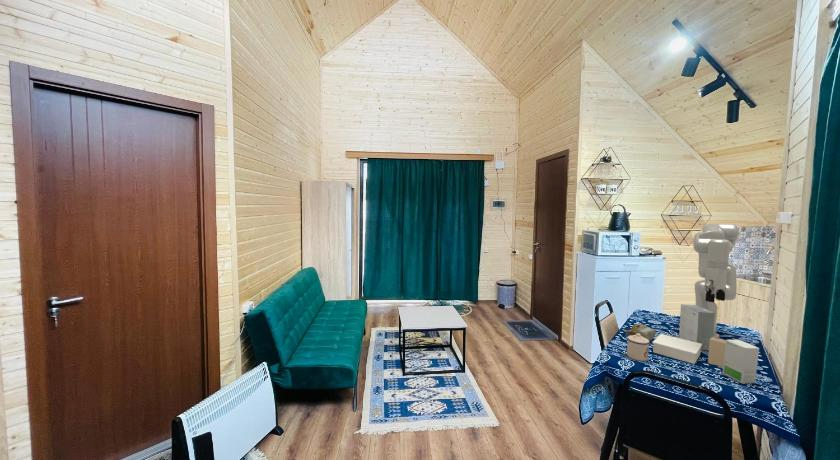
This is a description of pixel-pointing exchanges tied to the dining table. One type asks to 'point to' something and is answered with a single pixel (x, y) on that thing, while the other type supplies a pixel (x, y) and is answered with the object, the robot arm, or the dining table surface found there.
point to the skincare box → (740, 361)
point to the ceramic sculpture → (641, 331)
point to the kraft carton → (716, 351)
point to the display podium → (677, 348)
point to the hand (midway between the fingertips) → (715, 300)
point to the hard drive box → (696, 325)
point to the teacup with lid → (637, 347)
